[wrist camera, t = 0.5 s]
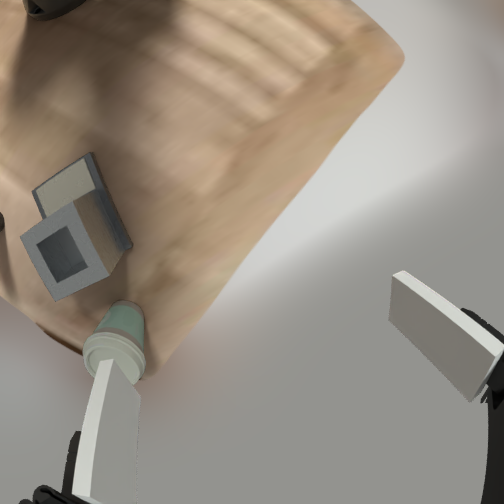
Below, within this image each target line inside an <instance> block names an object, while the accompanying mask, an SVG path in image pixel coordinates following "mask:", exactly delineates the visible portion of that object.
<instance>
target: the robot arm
mask: <svg viewBox="0 0 504 504" xmlns="http://www.w3.org/2000/svg"><path fill="white" fill-rule="evenodd" d="M84 1H86V0H23V4H24V7H25V10H26V12H27V13H28V14H29V15H30V16H32V17H33V18H34V19H36V20H50V19H53V18H56V17H59V16H61V15H63V14H65V13H67V12H69V11H71V10H73V9H74V8H76V7H77V6H79V5H80V4H82V3H83V2H84ZM389 321H390V322H391V323H392V324H393V325H394V326H395V327H396V328H397V329H398V330H399V331H401V333H402V334H403V335H404V336H405V337H406V338H408V339H409V340H410V341H411V342H412V343H413V344H414V345H415V346H416V347H417V348H418V349H419V350H420V351H421V352H422V353H423V354H424V355H425V356H426V357H427V358H428V359H429V360H430V361H431V362H432V363H433V365H434V366H436V368H437V369H438V370H439V371H440V372H441V373H442V374H443V375H444V376H445V377H446V378H447V379H448V380H449V381H450V382H451V383H452V384H453V385H454V386H455V387H456V388H457V390H458V391H459V392H460V393H461V394H462V395H463V396H464V397H465V398H466V399H467V400H468V402H471V401H472V400H473V399H474V398H475V397H476V396H478V395H479V393H481V391H482V389H483V388H484V386H485V384H487V385H488V386H489V387H488V388H487V390H486V392H485V393H484V395H483V396H482V398H481V403H483V402H484V400H485V399H486V397H487V399H486V402H485V403H488V425H489V426H488V454H487V466H486V475H485V482H484V489H483V495H482V500H481V504H504V336H503V335H502V334H501V333H500V332H499V331H497V330H496V329H495V328H494V327H492V326H491V325H490V324H487V322H486V321H485V320H483V319H481V318H480V317H479V316H478V315H477V314H475V313H474V312H472V311H470V310H467V309H464V308H462V309H458V308H457V307H455V306H454V305H453V304H451V303H450V302H448V301H447V300H446V299H444V298H443V297H442V296H440V295H439V294H438V293H436V292H435V291H433V290H432V289H430V288H429V287H428V286H426V285H425V284H423V283H422V282H420V281H419V280H417V279H416V278H415V277H413V276H412V275H410V274H409V273H407V272H406V271H404V270H403V271H401V272H398V273H396V274H394V275H392V287H391V301H390V311H389ZM140 403H141V396H140V395H139V394H138V392H137V391H136V390H135V388H134V387H133V386H132V384H131V383H130V381H129V380H128V379H127V377H126V376H125V375H124V373H123V372H122V370H121V369H120V367H119V366H118V364H117V363H116V361H115V360H114V359H109V360H104V361H100V363H99V366H98V369H97V373H96V376H95V380H94V383H93V387H92V390H91V394H90V398H89V402H88V406H87V410H86V414H85V419H84V423H83V427H82V431H76V432H75V434H74V435H73V437H72V439H71V440H70V445H69V450H68V452H69V454H68V455H67V462H66V466H65V472H64V479H63V486H62V492H61V493H59V492H58V491H56V490H54V489H52V488H51V487H49V486H47V485H41V486H39V487H38V488H37V489H36V490H35V491H34V494H33V502H31V501H30V500H28V499H23V500H21V501H20V503H19V504H137V445H138V429H139V414H140Z"/></svg>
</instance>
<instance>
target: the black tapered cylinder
mask: <svg viewBox="0 0 504 504" xmlns="http://www.w3.org/2000/svg"><path fill="white" fill-rule="evenodd" d="M3 228H4V218H3V215H2V214H1V212H0V232H1V231H2V230H3Z"/></svg>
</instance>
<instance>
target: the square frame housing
mask: <svg viewBox="0 0 504 504" xmlns="http://www.w3.org/2000/svg"><path fill="white" fill-rule="evenodd" d="M32 194H33V196H34V199H35V201H36V204H37V206H38V209H39V211H40V213H41V216H42V218H43V220H42V221H41V222H39V223H38V224H37V225H35V226H34V227H32V228H31V229H30V230H28V231H27V232H25V233H24V234H23V235H21V236H20V238H21V240H22V242H23V244H24V246H25V248H26V250H27V252H28V254H29V256H30V258H31V260H32V262H33V264H34V266H35V268H36V270H37V272H38V273H39V275H40V277H41V279H42V280H43V282H44V284H45V286H46V287H47V289H48V291H49V292H50V294H51V296H52V297H53V299H54V300H55V302H56V301H58V300H60V299H62V298H64V297H66V296H68V295H70V294H72V293H74V292H77V291H79V290H81V289H83V288H85V287H87V286H89V285H91V284H93V283H95V282H98V281H100V280H102V279H104V278H106V277H108V276H110V275H111V273H112V271H113V270H114V268H115V266H116V265H117V263H118V261H119V260H120V258H121V256H122V255H123V253H124V252H125V250H127V249H129V248H131V247H132V246H133V243H132V241H131V239H130V237H129V235H128V233H127V231H126V229H125V227H124V225H123V223H122V220H121V218H120V216H119V214H118V212H117V210H116V207H115V205H114V203H113V201H112V198H111V196H110V194H109V191H108V189H107V187H106V184H105V182H104V179H103V177H102V174H101V172H100V169H99V167H98V164H97V162H96V159H95V156H94V154H93V152H90V153H88V154H86V155H85V156H83V157H81V158H80V159H78V160H76V161H75V162H73V163H72V164H70V165H69V166H67V167H65V168H64V169H62V170H61V171H59V172H58V173H56V174H55V175H54V176H52V177H51V178H49V179H48V180H46V181H45V182H44V183H42V184H41V185H40V186H38V187H37V188H36V189H34V190H33V191H32Z"/></svg>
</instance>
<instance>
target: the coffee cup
mask: <svg viewBox="0 0 504 504" xmlns="http://www.w3.org/2000/svg"><path fill="white" fill-rule="evenodd" d="M83 358H84V365H85V368H86V369H87V371H88V372H89V374H90V375H91V376H92V377H93V378H94V379H95V376H96V373H97V369H98V366H99V363H100V361H104V360H109V359H114V360H115V361H116V363H117V364H118V366H119V367H120V369H121V370H122V372H123V373H124V375H125V376H126V377H127V379H128V380H129V381H130V383H131V384H132V386H133V385H134V384H136V382H137V381H138V380H139V379H140V378H141V376H142V375H143V373H144V370H145V367H146V361H145V357H144V314H143V312H142V310H141V309H140V308H139V307H138V306H137V305H136V304H135V303H133V302H130V301H126V300H120V301H117V302H115V303H114V304H113V305H112V306H111V307H110V309H109V310H108V312H107V313H106V314H105V316H104V317H103V319H102V320H101V322H100V323H99V325H98V326H97V328H96V329H95V331H94V333H93V334H92V335H91V336H90V337H88V338H87V340H86V341H85V343H84V347H83Z"/></svg>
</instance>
